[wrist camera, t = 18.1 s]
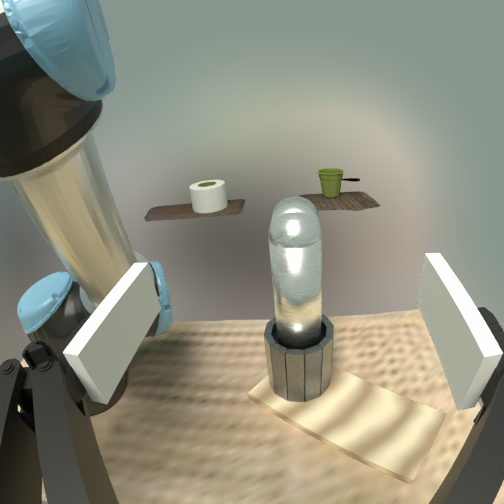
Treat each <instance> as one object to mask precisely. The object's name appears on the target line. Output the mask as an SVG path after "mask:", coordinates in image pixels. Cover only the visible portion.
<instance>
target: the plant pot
mask: <svg viewBox="0 0 504 504" xmlns="http://www.w3.org/2000/svg"><path fill="white" fill-rule="evenodd" d="M317 172H318V174H319V177H320V181H321V186H322V192H323V196H325V197H327V198H334V197H338V196H339V194H340V187H341V180H342V176H343V173H344V170H341V169H335V168H325V169H320V170H318V171H317Z"/></svg>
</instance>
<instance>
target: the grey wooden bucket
mask: <svg viewBox="0 0 504 504" xmlns="http://www.w3.org/2000/svg"><path fill="white" fill-rule="evenodd" d="M333 328H334V326H333V324H332V323H331V322H330V321H329V319H328V318H327V317H326V316H325V315H322V314H321V342H320V343H319V344H318V345H316V346H313V347H310V348H307V349H304V350H299V349H287V348H285V347H283V346H281V345H279V344H278V336H277V324H276V317H274V318H273V319H272V320H271V321H269V322H268V324H267V326H266V329H265V332H264V340H265V348H266V357H267V365H268V373H269V382H270V385H271V387H272V389H273V391H274V393H275V394H276V395H278V396H279V397H281V398H283V399H285V400H286V401H290V402H304V401H305V402H307V401H310V400H313V399H315V398H318V397H320V396H321V395H322V394H323V393H324V392H325V391H326V390H327V388H328V387H329V386H330V374H331V361H332V346H333Z"/></svg>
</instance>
